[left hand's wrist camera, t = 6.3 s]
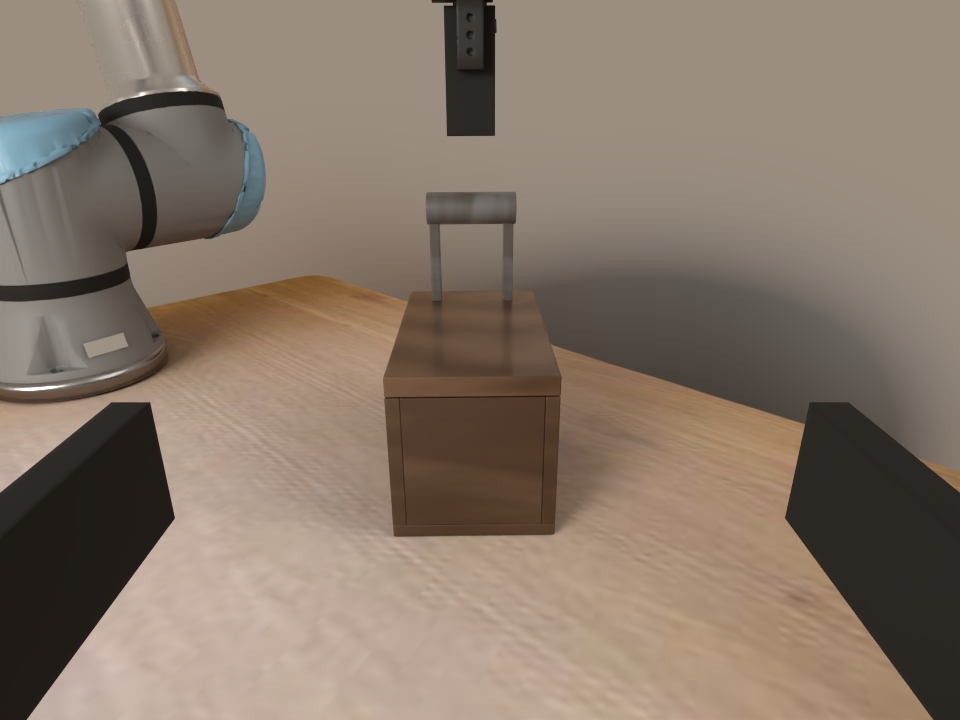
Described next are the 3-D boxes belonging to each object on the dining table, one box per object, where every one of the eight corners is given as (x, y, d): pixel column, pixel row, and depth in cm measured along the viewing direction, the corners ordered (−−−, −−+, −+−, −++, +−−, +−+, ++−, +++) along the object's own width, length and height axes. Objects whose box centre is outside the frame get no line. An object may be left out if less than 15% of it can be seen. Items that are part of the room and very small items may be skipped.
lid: (411, 306, 50) (406, 188, 47) (533, 304, 50) (535, 187, 47) (384, 397, 34) (372, 230, 31) (560, 396, 34) (568, 229, 31)
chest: (416, 414, 53) (410, 309, 49) (531, 412, 53) (533, 308, 49) (393, 536, 38) (384, 398, 34) (554, 534, 38) (560, 396, 34)
